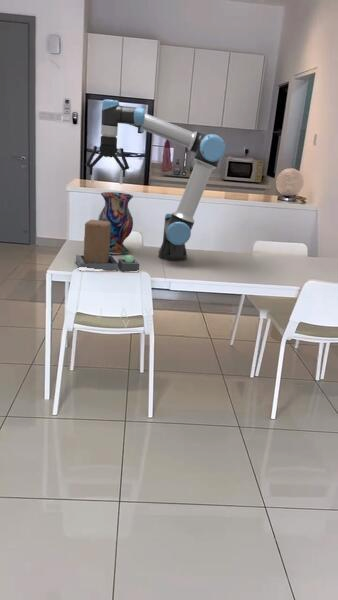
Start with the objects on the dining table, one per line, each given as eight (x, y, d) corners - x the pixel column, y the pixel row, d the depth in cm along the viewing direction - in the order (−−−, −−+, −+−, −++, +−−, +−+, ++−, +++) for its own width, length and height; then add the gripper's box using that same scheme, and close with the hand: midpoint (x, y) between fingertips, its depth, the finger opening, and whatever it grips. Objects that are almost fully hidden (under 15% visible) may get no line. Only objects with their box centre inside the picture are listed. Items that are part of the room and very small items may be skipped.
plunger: (131, 265, 228) (132, 255, 226) (133, 267, 224) (134, 257, 222) (123, 265, 226) (123, 254, 225) (125, 267, 223) (125, 257, 221)
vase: (97, 246, 265) (99, 190, 256) (130, 248, 268) (134, 193, 258) (95, 254, 248) (98, 195, 239) (131, 256, 251) (135, 197, 241)
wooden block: (104, 268, 220) (106, 224, 214) (82, 266, 221) (84, 222, 214) (109, 263, 229) (111, 221, 223) (88, 261, 230) (90, 219, 224)
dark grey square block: (134, 267, 231) (135, 259, 229) (138, 272, 223) (139, 263, 222) (117, 267, 228) (118, 259, 227) (121, 272, 221) (122, 263, 219)
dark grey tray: (111, 262, 235) (111, 255, 234) (117, 271, 222) (118, 263, 221) (75, 262, 229) (75, 255, 228) (80, 271, 216) (80, 263, 215)
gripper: (133, 138, 230) (130, 183, 237) (80, 133, 222) (79, 180, 228) (137, 138, 223) (134, 185, 230) (83, 133, 215) (81, 182, 222)
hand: (106, 183), depth 229 cm, fingers open, 13 cm apart
